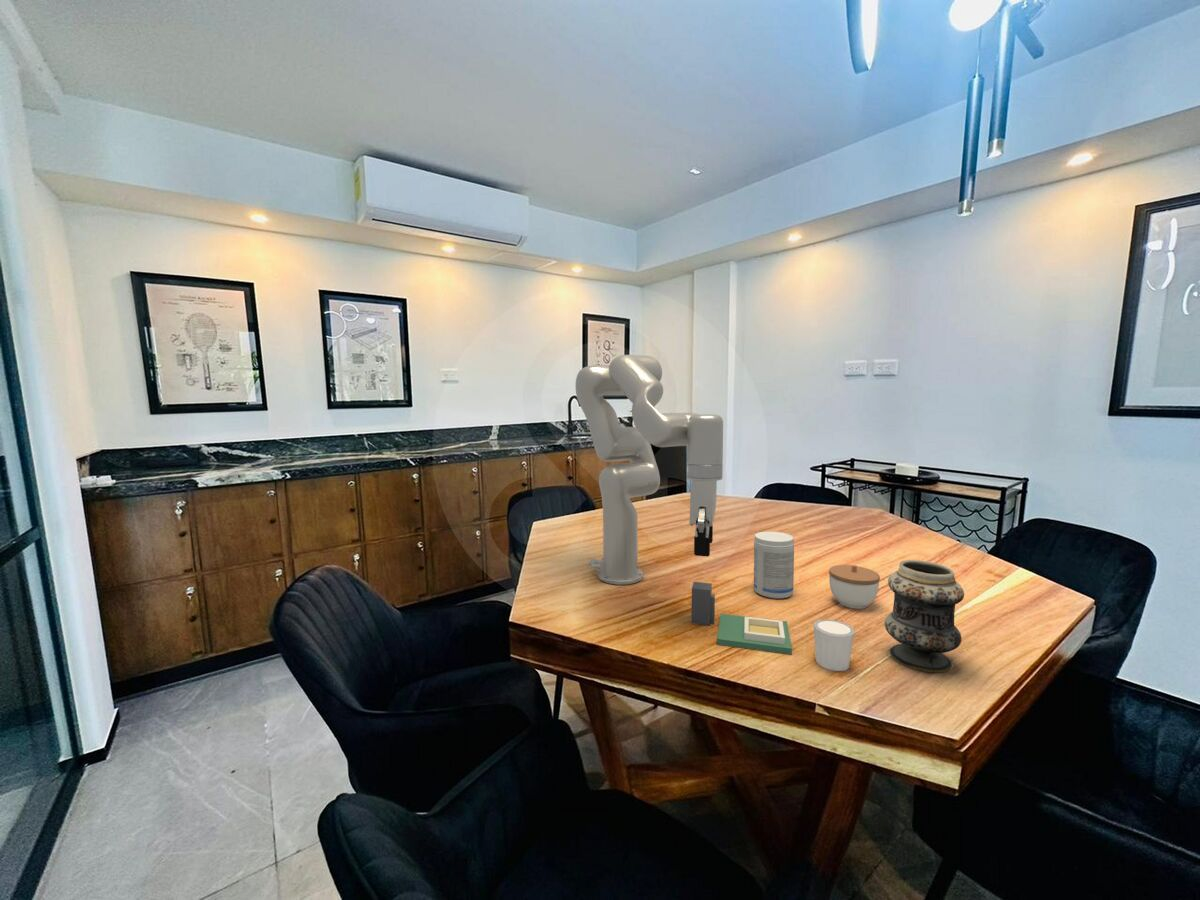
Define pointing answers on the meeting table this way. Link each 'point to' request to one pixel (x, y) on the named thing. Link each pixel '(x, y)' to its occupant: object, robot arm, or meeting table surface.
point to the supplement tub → (773, 564)
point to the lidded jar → (854, 585)
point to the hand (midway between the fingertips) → (703, 548)
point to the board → (754, 633)
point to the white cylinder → (833, 644)
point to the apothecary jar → (924, 615)
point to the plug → (702, 604)
